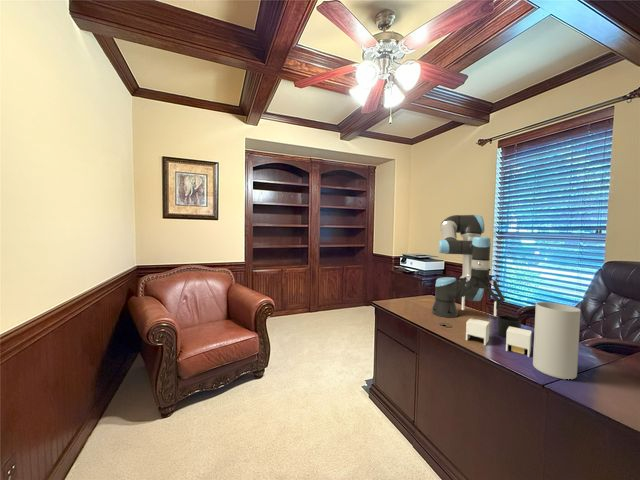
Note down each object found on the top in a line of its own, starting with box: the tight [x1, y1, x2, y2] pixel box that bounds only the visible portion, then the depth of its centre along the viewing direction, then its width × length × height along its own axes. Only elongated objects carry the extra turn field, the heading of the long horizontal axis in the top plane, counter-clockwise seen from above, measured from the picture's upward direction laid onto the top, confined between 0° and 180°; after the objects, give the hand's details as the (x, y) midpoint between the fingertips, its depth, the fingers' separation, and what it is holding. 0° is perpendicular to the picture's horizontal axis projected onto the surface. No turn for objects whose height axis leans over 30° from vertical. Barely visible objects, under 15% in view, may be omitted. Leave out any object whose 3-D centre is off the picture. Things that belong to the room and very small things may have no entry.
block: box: [510, 345, 526, 355], centre depth 116 cm, size 4×4×4 cm
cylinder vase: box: [532, 301, 581, 381], centre depth 99 cm, size 12×12×25 cm
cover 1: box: [465, 317, 491, 346], centre depth 127 cm, size 8×8×9 cm
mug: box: [496, 315, 522, 339], centre depth 134 cm, size 9×12×9 cm
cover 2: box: [505, 326, 533, 358], centre depth 116 cm, size 8×8×9 cm
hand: (478, 312), depth 127 cm, fingers open, 13 cm apart
